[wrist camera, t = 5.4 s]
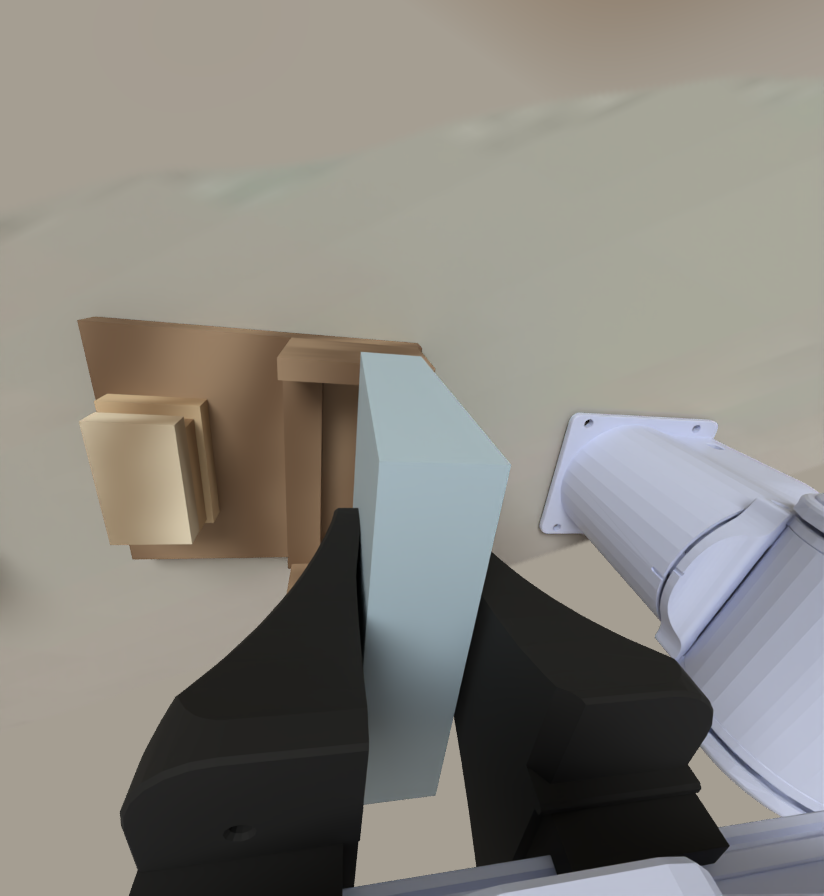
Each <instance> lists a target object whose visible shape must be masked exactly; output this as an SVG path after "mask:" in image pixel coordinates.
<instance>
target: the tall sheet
mask: <svg viewBox="0 0 824 896" xmlns="http://www.w3.org/2000/svg"><path fill="white" fill-rule="evenodd" d="M510 467H511V464H510V463H509V462H508V461H507V459H506V458H505V457H504V456H503V455H502V453H501V452H500V451H499V450H498V449H497V447H496V446H495V445H494V444H493V442H492V441H491V440H490V439H489V438H488V436H487V435H486V434H485V433H484V432H483V430H482V429H481V428H480V427H479V426H478V424H477V423H476V422H475V421H474V420H473V418H472V417H471V416H470V415H469V414H468V412H467V411H466V410H465V409H464V407H463V406H462V405H461V404H460V403H459V401H458V400H457V399H456V398H455V397H454V395H453V394H452V393H451V392H450V391H449V389H448V388H447V387H446V386H445V385H444V383H443V382H442V381H441V380H440V379H439V377H438V376H437V375H436V374H435V372H434V371H433V370H432V369H431V368H430V366H429V365H428V364H427V363H426V362H425V360H424V359H423V358H422V357H421V356H409V355H396V354H383V353H369V352H361V358H360V377H359V397H358V416H357V436H356V456H355V475H354V495H353V508H358V510H359V518H360V542H359V558H358V573H357V603H358V617H359V630H360V642H361V654H362V664H363V673H364V683H365V692H366V700H367V708H368V729H369V756H368V766H367V776H366V785H365V795H364V805H365V804H373V803H380V802H388V801H396V800H404V799H412V798H420V797H427V796H435V795H436V791H437V786H438V782H439V778H440V774H441V769H442V764H443V760H444V756H445V752H446V747H447V743H448V738H449V734H450V729H451V725H452V721H453V717H454V712H455V708H456V704H457V699H458V695H459V690H460V686H461V682H462V677H463V673H464V669H465V664H466V660H467V655H468V651H469V647H470V642H471V638H472V634H473V629H474V625H475V620H476V616H477V612H478V607H479V603H480V599H481V594H482V590H483V585H484V581H485V577H486V572H487V568H488V564H489V559H490V555H491V550H492V546H493V542H494V537H495V533H496V529H497V524H498V520H499V515H500V511H501V507H502V502H503V498H504V494H505V489H506V485H507V480H508V476H509V472H510Z"/></svg>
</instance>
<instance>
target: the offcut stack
mask: <svg viewBox="0 0 824 896" xmlns="http://www.w3.org/2000/svg"><path fill="white" fill-rule="evenodd" d="M94 403H95V408H96V412H94V413H92V414H91V415H89V416H87V417H86V418H84V419H82V420H81V421H79V424H80V428H81V432H82V436H83V440H84V444H85V448H86V452H87V456H88V460H89V463H90V467H91V471H92V475H93V479H94V483H95V487H96V491H97V495H98V499H99V503H100V506H101V510H102V514H103V518H104V522H105V526H106V530H107V534H108V538H109V542H110V545H156V544H192V543H193V542H194V540H195V538H196V536H197V534H198V532H200V531H201V529H202V527H203V525H204V524H205V523H214V521H215V519H216V518H217V516H218V514H219V512H220V510H219V501H218V492H217V483H216V474H215V465H214V456H213V447H212V438H211V429H210V420H209V411H208V402H207V399H199V398H179V397H160V396H141V395H122V394H106V395H104V396H102V397H100V398H99V399H97V400H95V401H94Z"/></svg>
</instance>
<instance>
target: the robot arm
mask: <svg viewBox="0 0 824 896" xmlns="http://www.w3.org/2000/svg"><path fill="white" fill-rule="evenodd" d="M587 420H589V423H588V424H587V425H584V423H585V422H586V421H587ZM694 426H695V427H694ZM693 427H694V429H693ZM692 429H693V430H692ZM717 429H718V424H717V423H716V422H714V421H712V420H705V419H687V418H668V417H650V416H632V415H613V414H595V413H576V414H574V415H573V416H572V417H571V418H570V420H569V423H568V427H567V430H566V434H565V437H564V441H563V444H562V448H561V451H560V455H559V458H558V462H557V465H556V469H555V472H554V476H553V479H552V483H551V486H550V490H549V493H548V497H547V500H546V504H545V507H544V511H543V514H542V518H541V521H540V526H539V527H540V529H541V530H542V532H544V533H547V534H564V533H584V534H585V535H586V537H587V538H588V539H589V540H590V541H591V542H592V543H593V545H594V546H595V547H596V548H597V549H598V550H599V551H600V553H601V554H602V555H603V556H604V557H605V558H606V559H607V560H608V562H609V563H610V564H611V565H612V566H613V567H614V568H615V570H616V571H617V572H618V573H619V574H620V575H621V577H622V578H623V579H624V580H625V581H626V582H627V583H628V584H629V586H630V587H631V588H632V589H633V590H634V591H635V592H636V594H637V595H638V596H639V597H640V598H641V599H642V601H643V602H644V603H645V604H646V605H647V606H648V607H649V609H650V610H651V611H652V612H653V613H654V614H655V615H656V617H657V618H658V619H659V620H660V621H661V625H660V628H659V630H658V631H657V633H656V635H655V638H656V640H657V641H658V642H659V643H660V644H661V645H662V647H663V648H664V649H665V650H666V652H667V653H668V654H669V655H670V656H671V657H669V656H666V655H664V654H662V653H659V652H657V651H655V650H652V649H650V648H648V647H646V646H643V645H641V644H638V643H636V642H634V641H631V640H629V639H627V638H625V637H623V636H621V635H619V634H617V633H615V632H612V631H611V630H609V629H607V628H604V627H603V626H601V625H599V624H597V623H595V622H593V621H591V620H589V619H587V618H585V617H583V616H582V615H580V614H578V613H577V612H575V611H573V610H572V609H570V608H568V607H567V606H565V605H563V604H562V603H560V602H558V601H556V600H555V599H553V598H552V597H550V596H549V595H547V594H546V593H544V592H543V591H541V590H540V589H538V588H537V587H535V586H534V585H533V584H531V583H530V582H528V581H527V580H525V579H524V578H523V577H521V576H520V575H519V574H518V573H516V572H515V571H514V570H512V569H511V568H510V567H509V566H508V565H506V564H505V563H504V562H503V561H502V560H500V559H499V558H498V557H497V556H496V555H495V554H493V553H492V552H491V555H490V559H489V564H488V568H487V572H486V577H485V581H484V585H483V590H482V594H481V599H480V603H479V607H478V612H477V616H476V620H475V625H474V629H473V634H472V638H471V642H470V647H469V651H468V655H467V660H466V664H465V669H464V673H463V677H462V682H461V686H460V690H459V695H458V699H457V704H456V708H455V712H454V720H455V725H456V732H457V737H458V743H459V750H460V755H461V761H462V768H463V775H464V781H465V788H466V795H467V801H468V808H469V815H470V823H471V830H472V837H473V845H474V852H475V860H476V867H474V868H468V869H462V870H456V871H449V872H443V873H438V874H431V875H425V876H419V877H413V878H407V879H400V880H394V881H388V882H382V883H377V884H370V885H364V886H358V887H354V881H355V871H356V860H357V851H358V841H360V833H361V824H362V814H363V805H364V795H365V785H366V776H367V766H368V756H369V729H368V708H367V700H366V692H365V683H364V673H363V664H362V654H361V642H360V630H359V617H358V603H357V573H358V558H359V542H360V518H359V510H358V508H337V509H336V510H335V511H334V514H333V518H332V521H331V523H330V526H329V528H328V530H327V532H326V535H325V537H324V538H323V540H322V542H321V544H320V546H319V548H318V549H317V551H316V553H315V555H314V556H313V558H312V559H311V561H310V562H309V564H308V565H307V567H306V568H305V570H304V572H303V573H302V575H301V576H300V577H299V579H298V580H297V581H296V583H295V584H294V585H293V587H292V588H291V589H290V591H289V592H288V593H287V594H286V596H285V597H284V598H283V599H282V600H281V602H280V603H279V604H278V605H277V606H276V607H275V608H274V609H273V611H272V612H271V613H270V614H269V615H268V616H267V617H266V618H265V619H264V620H263V622H262V623H261V624H260V625H259V626H258V627H257V628H256V629H255V630H254V631H253V632H252V633H251V634H249V635H248V636H247V637H246V638H245V639H244V640H243V641H242V642H241V643H240V644H239V645H238V646H237V647H236V648H234V649H233V650H232V651H231V652H230V653H229V654H228V655H227V656H226V657H225V658H224V659H222V660H221V661H220V662H219V663H218V664H217V665H215V666H214V667H213V668H212V669H210V670H209V671H208V672H207V673H205V674H204V675H203V676H202V677H200V678H199V679H198V680H196V681H195V682H194V683H193V684H191V685H190V686H189V687H188V688H187V689H185V690H184V691H183V692H181V693H180V694H179V695H178V696H176V697H175V699H174V700H173V702H172V704H171V705H170V707H169V708H168V710H167V712H166V713H165V715H164V717H163V718H162V720H161V722H160V724H159V725H158V727H157V729H156V731H155V733H154V735H153V737H152V738H151V740H150V742H149V744H148V746H147V748H146V750H145V752H144V754H143V756H142V758H141V761H140V763H139V765H138V768H137V770H136V773H135V775H134V778H133V780H132V783H131V785H130V788H129V790H128V793H127V795H126V798H125V801H124V803H123V805H122V808H121V811H120V817H121V826H122V829H123V831H124V834H125V837H126V840H127V843H128V845H129V848H130V850H131V853H132V855H133V858H134V861H135V864H136V866H137V869H138V871H137V874H136V877H135V880H134V882H133V885H132V888H131V891H130V894H129V896H824V493H819V492H818V491H816V490H815V489H813V488H812V487H810V486H808V485H807V484H805V483H803V482H801V481H799V480H797V479H795V478H793V477H791V476H789V475H787V474H785V473H783V472H781V471H778V470H776V469H774V468H772V467H770V466H768V465H766V464H764V463H762V462H760V461H758V460H756V459H754V458H751V457H749V456H747V455H745V454H743V453H741V452H739V451H737V450H735V449H733V448H731V447H729V446H727V445H724V444H722V443H720V442H718V441H716V440H714V439H713V438H714V436H715V434H716V432H717ZM556 524H557V526H555V527H553V526H554V525H556ZM699 747H701V748H702V749H703V751H704V752H705V753H706V754H707V755H708V757H709V758H710V759H711V760H712V761H713V762H714V763H715V764H716V765H717V767H719V769H720V770H721V771H723V772H724V773H725V774H726V775H727V776H728V777H729V778H730V779H731V780H732V781H733V782H734V783H735V784H736V785H738V786H739V787H740V788H741V789H742V790H743V791H745V792H746V793H747V794H748V795H750V796H751V797H752V798H754V799H755V800H756V801H758V802H759V803H760V804H762V805H763V806H765V807H766V808H768V809H769V810H771V811H773V812H774V813H776V814H778V815H779V816H781V817H779V818H773V819H767V820H761V821H755V822H749V823H743V824H737V825H730V826H724V827H717V825H716V824H715V822H714V821H713V819H712V818H711V816H710V815H709V813H708V812H707V810H706V808H705V807H704V805H703V804H702V803H701V801H700V800H699V798H698V796H697V795H696V793H698V792H699V791H700V790H701V786H700V782H699V780H698V779H697V778H696V776H695V774H694V773H693V772H692V770H691V769H690V767H689V766H688V763H689V761H690V760H691V759H692V757H693V756H694V754H695V753H696V751H697V750H698V748H699Z"/></svg>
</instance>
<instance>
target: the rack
mask: <svg viewBox="0 0 824 896" xmlns="http://www.w3.org/2000/svg"><path fill="white" fill-rule="evenodd" d="M77 321H78V326H79V330H80V334H81V339H82V343H83V347H84V351H85V356H86V360H87V364H88V369H89V373H90V377H91V382H92V386H93V390H94V395H95V399H96V400H97V399H99V398H100V397H102V396H104V395H106V394H122V395H141V396H160V397H179V398H199V399H207V402H208V411H209V420H210V429H211V438H212V447H213V456H214V465H215V474H216V483H217V492H218V501H219V510H220V512H219V514H218V516H217V518H216V519H215V521H214V523H205V524H204V525H203V527H202V529H201V531H200V532H198V534H197V536H196V538H195V540H194V542H193V543H192V544H156V545H129V546H130V550H131V555H132V559H188V558H254V557H288V569H291V572H290V578H289V583H288V589H287V593H288V592H289V591H290V589H291V588H292V587H293V585H294V584H295V583H296V581H297V580H298V579H299V577H300V576H301V575H302V573H303V572H304V570H305V568H306V567H307V565H308V564H309V562H310V561H311V559H312V558H313V556H314V555H315V553H316V551H317V549H318V548H319V546H320V544H321V542H322V540H323V538H324V537H325V535H326V532H327V530H328V528H329V526H330V523H331V521H332V518H333V514H334V511H335V510H336V509H337V508H353V495H354V475H355V456H356V436H357V416H358V397H359V377H360V358H361V352H369V353H383V354H396V355H409V356H421V357H422V358H423V359H424V360H425V362H426V363H427V364H428V365H429V366H430V368H431V369H432V370H433V371H434V372H435V368H434V367H433V365H432V364H431V363H430V362H429V361H428V359H427V358H426V357H425V356H424V355H423V353H422V348H421V346H420V345H419V344H418V343H408V342H396V341H383V340H371V339H359V338H347V337H335V336H323V335H311V334H299V333H287V332H274V331H262V330H250V329H238V328H226V327H214V326H202V325H190V324H178V323H165V322H153V321H141V320H129V319H117V318H105V317H91V318H86V319H81V320H77Z"/></svg>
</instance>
